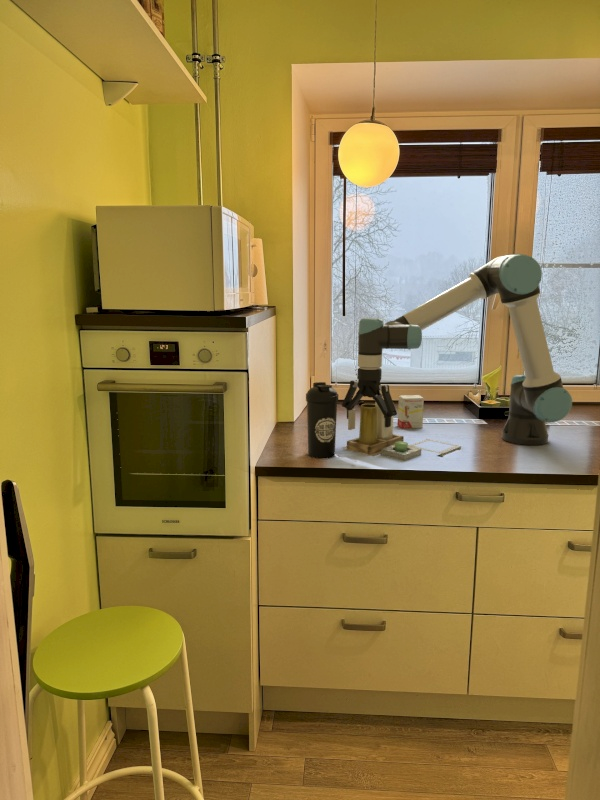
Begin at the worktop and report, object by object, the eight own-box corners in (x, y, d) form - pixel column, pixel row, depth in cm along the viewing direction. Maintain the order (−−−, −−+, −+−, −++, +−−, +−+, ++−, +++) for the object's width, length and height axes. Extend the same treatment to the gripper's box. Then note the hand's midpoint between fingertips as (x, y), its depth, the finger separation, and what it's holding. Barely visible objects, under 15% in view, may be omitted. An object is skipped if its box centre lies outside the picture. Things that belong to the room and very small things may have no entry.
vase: (375, 445, 194) (376, 403, 191) (378, 451, 188) (380, 407, 185) (357, 446, 194) (358, 403, 191) (359, 451, 188) (360, 407, 185)
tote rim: (460, 449, 194) (461, 446, 194) (441, 457, 186) (441, 453, 186) (427, 442, 203) (427, 438, 203) (407, 448, 195) (407, 445, 195)
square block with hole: (421, 458, 185) (421, 449, 184) (404, 464, 178) (404, 454, 178) (397, 452, 191) (397, 443, 190) (380, 458, 185) (380, 448, 184)
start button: (410, 449, 184) (410, 443, 184) (402, 451, 181) (403, 445, 181) (399, 446, 187) (399, 440, 187) (392, 449, 184) (392, 443, 184)
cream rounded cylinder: (395, 443, 197) (397, 402, 194) (385, 447, 193) (386, 405, 190) (381, 440, 201) (382, 399, 198) (370, 443, 197) (371, 402, 194)
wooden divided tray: (408, 447, 196) (408, 437, 195) (373, 459, 183) (373, 448, 182) (377, 440, 205) (377, 430, 204) (341, 451, 192) (341, 440, 191)
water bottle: (311, 460, 182) (311, 387, 177) (301, 451, 191) (302, 381, 187) (341, 458, 185) (343, 385, 180) (331, 449, 194) (332, 380, 190)
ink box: (401, 428, 221) (402, 398, 219) (397, 425, 226) (398, 395, 224) (423, 428, 223) (424, 397, 220) (418, 424, 227) (419, 394, 225)
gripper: (409, 370, 180) (406, 438, 184) (346, 362, 197) (345, 424, 201) (395, 373, 174) (392, 442, 179) (332, 364, 191) (331, 428, 196)
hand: (367, 433), depth 190 cm, fingers open, 13 cm apart
